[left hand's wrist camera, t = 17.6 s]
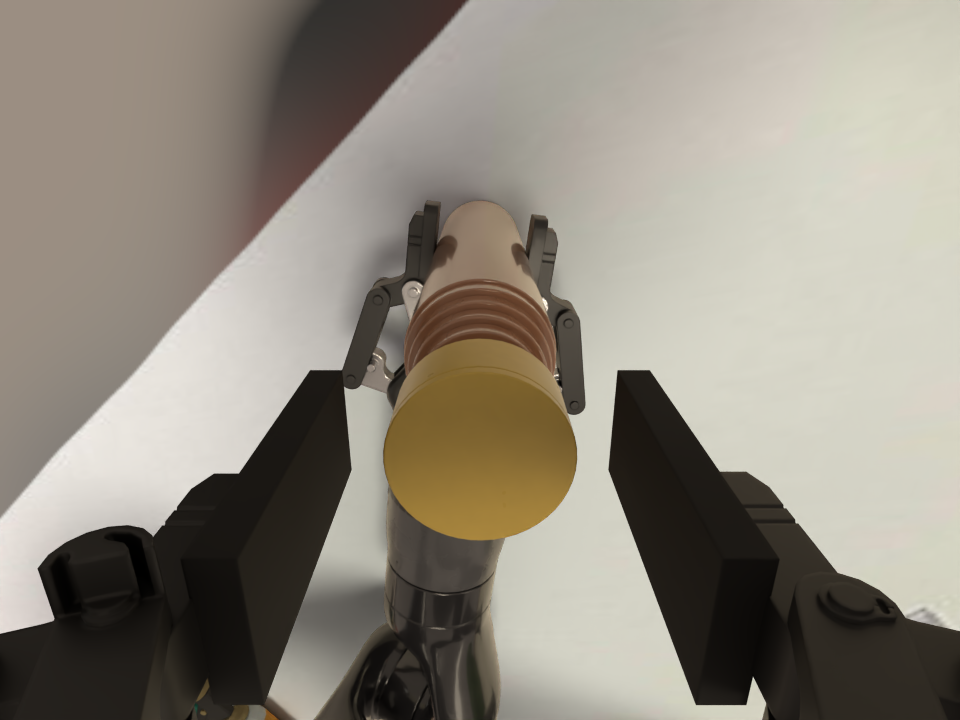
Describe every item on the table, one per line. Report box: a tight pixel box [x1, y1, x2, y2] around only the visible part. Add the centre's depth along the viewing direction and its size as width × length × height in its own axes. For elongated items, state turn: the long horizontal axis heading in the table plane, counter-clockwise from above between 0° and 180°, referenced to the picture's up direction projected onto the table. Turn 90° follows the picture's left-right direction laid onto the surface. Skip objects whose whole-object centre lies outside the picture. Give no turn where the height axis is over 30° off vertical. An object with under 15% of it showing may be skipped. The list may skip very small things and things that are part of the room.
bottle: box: [404, 201, 556, 377], centre depth 25 cm, size 5×5×26 cm
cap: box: [383, 339, 577, 540], centre depth 14 cm, size 4×4×2 cm
